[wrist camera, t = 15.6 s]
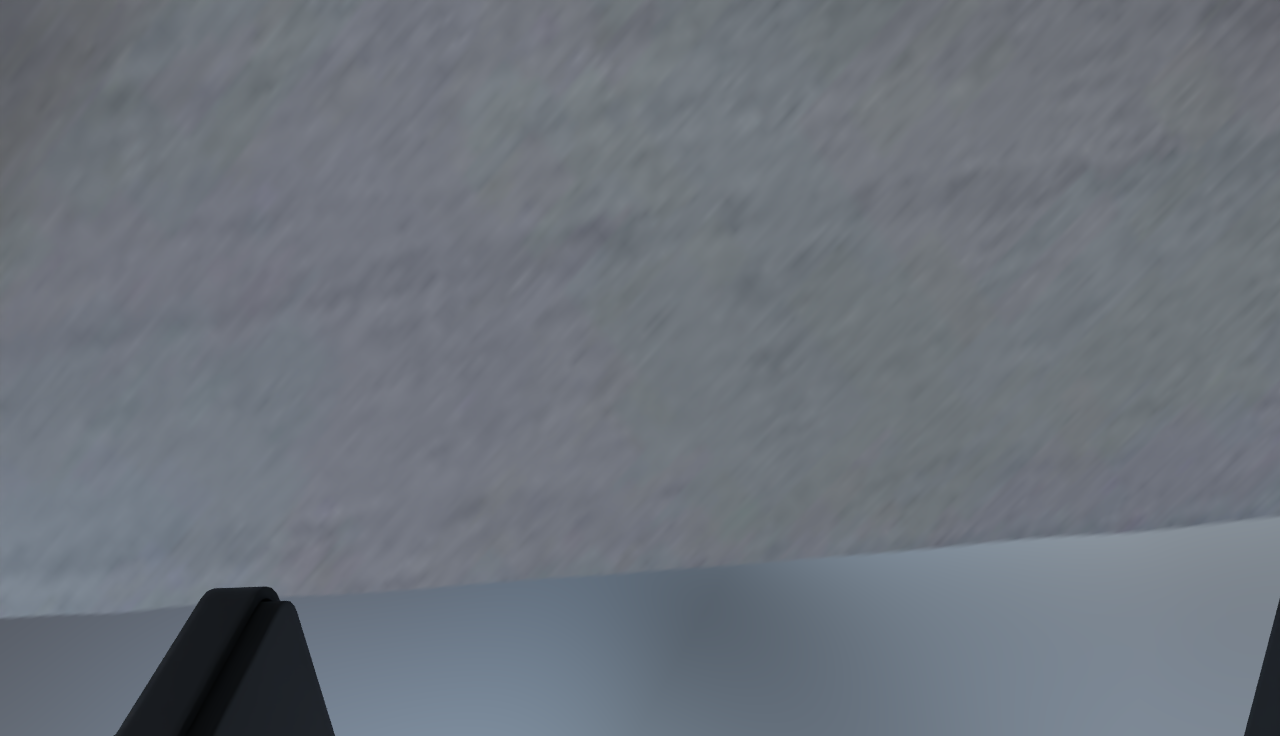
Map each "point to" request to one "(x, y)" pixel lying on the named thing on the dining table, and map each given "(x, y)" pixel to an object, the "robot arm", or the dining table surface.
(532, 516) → the dining table surface
